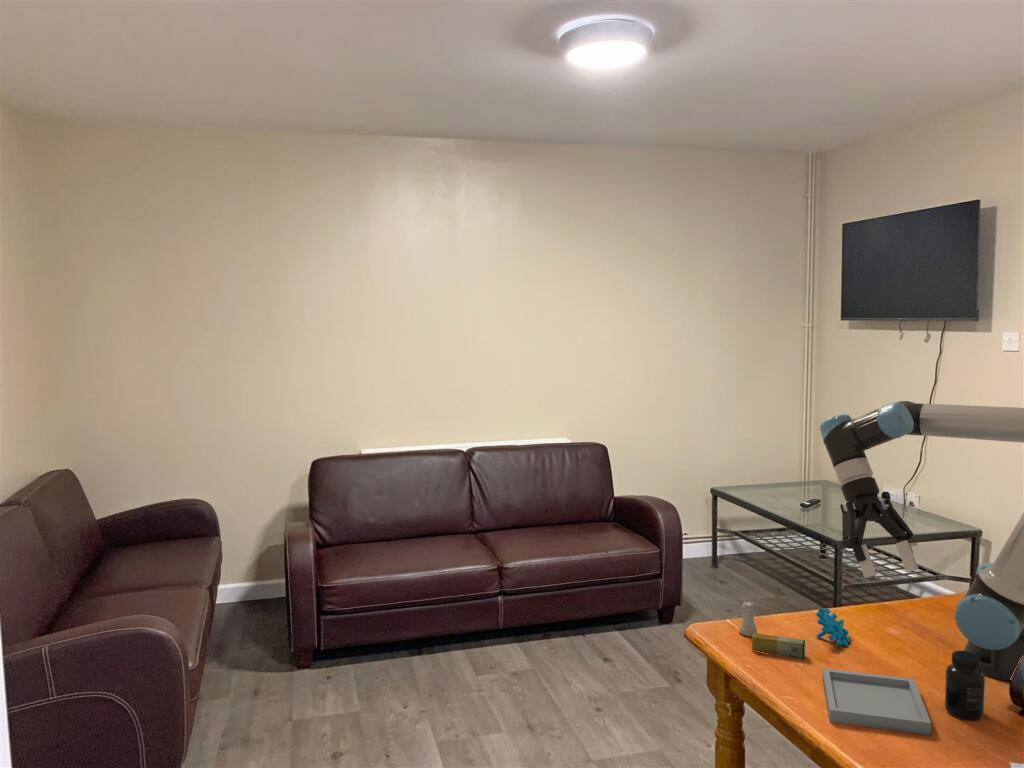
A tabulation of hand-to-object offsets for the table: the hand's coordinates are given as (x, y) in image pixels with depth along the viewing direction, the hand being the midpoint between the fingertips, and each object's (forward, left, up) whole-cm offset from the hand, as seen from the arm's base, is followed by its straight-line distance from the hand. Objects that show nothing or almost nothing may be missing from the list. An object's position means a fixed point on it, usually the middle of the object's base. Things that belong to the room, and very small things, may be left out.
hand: (892, 573), depth 171 cm
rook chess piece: (+30, -14, -24) cm, 41 cm away
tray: (+5, +15, -23) cm, 28 cm away
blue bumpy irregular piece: (+10, -16, -24) cm, 30 cm away
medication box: (+23, -5, -24) cm, 34 cm away
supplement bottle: (-12, +13, -24) cm, 29 cm away
